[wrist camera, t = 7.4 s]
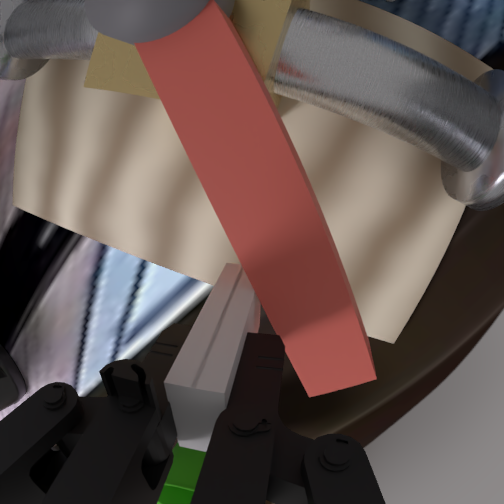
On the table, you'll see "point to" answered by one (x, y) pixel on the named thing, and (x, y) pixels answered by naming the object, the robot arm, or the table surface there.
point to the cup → (182, 476)
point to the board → (193, 194)
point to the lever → (249, 179)
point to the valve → (302, 79)
